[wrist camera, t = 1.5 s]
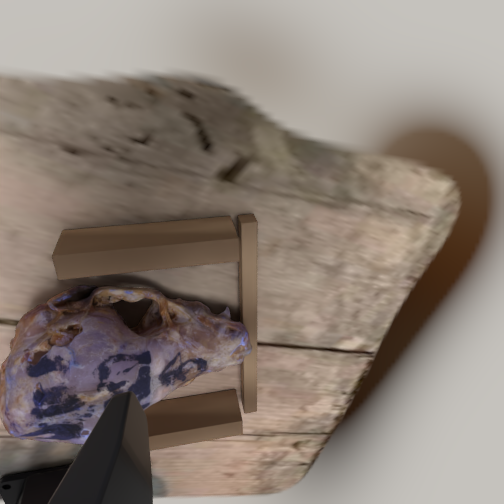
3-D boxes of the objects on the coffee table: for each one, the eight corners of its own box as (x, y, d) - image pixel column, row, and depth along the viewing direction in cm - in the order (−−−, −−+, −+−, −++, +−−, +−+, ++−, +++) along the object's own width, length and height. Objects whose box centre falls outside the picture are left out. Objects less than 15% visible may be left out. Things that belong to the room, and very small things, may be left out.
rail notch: (253, 399, 28) (261, 430, 26) (109, 422, 27) (105, 458, 24) (253, 214, 22) (264, 235, 19) (62, 230, 20) (51, 256, 18)
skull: (252, 281, 24) (280, 356, 19) (229, 382, 27) (247, 470, 22) (15, 266, 21) (-32, 352, 15) (22, 383, 24) (-14, 486, 19)
